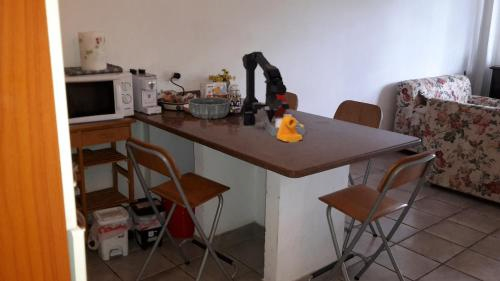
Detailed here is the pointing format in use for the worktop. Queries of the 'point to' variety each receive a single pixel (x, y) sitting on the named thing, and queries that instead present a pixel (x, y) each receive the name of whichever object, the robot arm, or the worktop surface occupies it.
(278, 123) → the tab
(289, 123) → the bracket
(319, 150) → the worktop surface
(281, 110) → the bottle
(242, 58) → the robot arm
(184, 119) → the worktop surface
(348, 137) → the worktop surface
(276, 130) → the switch bank
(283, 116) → the tab
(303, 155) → the worktop surface
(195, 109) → the bundt pan
